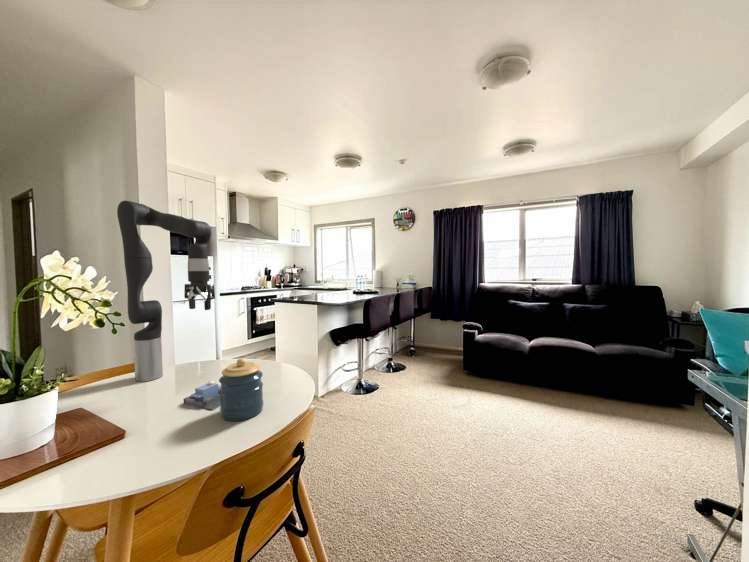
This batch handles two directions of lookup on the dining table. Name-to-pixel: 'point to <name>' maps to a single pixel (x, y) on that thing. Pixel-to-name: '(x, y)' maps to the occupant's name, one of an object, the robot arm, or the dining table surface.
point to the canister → (241, 391)
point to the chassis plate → (204, 402)
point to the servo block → (206, 391)
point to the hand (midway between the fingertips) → (200, 309)
